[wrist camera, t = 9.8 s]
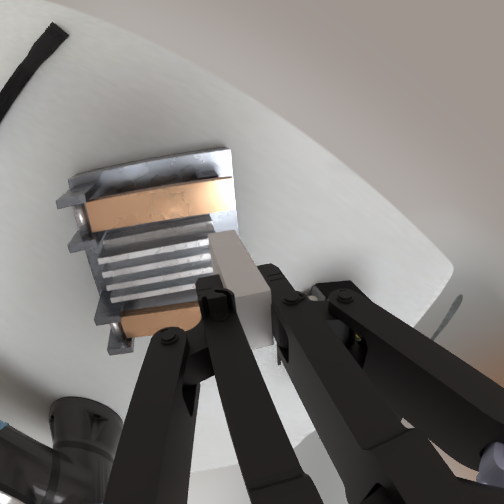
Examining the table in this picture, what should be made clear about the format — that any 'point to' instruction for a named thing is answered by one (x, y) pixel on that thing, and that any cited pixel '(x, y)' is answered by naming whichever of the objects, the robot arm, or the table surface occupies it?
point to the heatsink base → (147, 238)
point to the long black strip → (30, 65)
